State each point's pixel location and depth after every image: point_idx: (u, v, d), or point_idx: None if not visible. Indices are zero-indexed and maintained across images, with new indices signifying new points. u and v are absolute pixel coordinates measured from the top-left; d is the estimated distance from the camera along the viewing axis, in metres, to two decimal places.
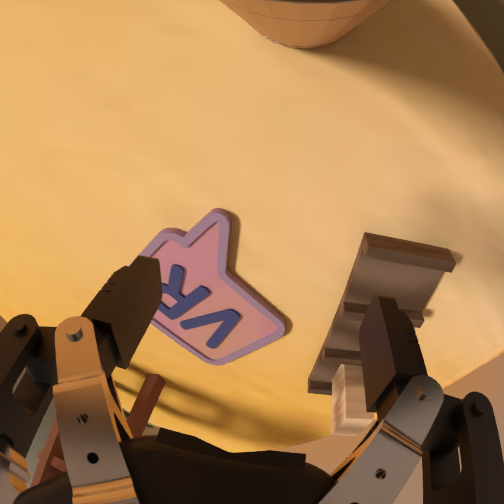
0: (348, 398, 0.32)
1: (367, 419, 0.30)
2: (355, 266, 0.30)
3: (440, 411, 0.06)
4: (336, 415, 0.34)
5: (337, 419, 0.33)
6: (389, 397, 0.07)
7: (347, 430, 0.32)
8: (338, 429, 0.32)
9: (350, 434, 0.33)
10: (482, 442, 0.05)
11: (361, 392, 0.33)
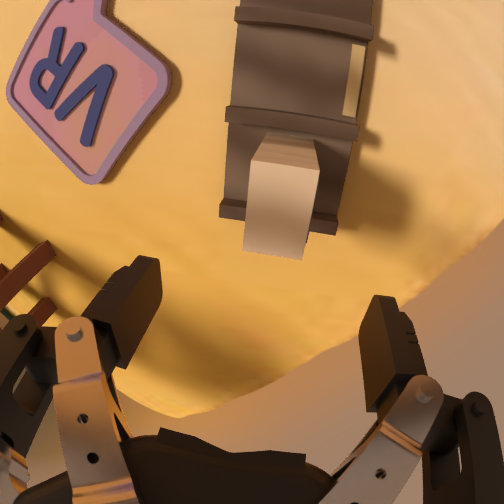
0: (263, 149, 0.18)
1: (305, 171, 0.15)
2: None
3: (440, 411, 0.06)
4: None
5: None
6: (389, 397, 0.07)
7: (272, 228, 0.17)
8: (249, 220, 0.17)
9: (283, 248, 0.18)
10: (482, 442, 0.05)
11: (294, 149, 0.19)
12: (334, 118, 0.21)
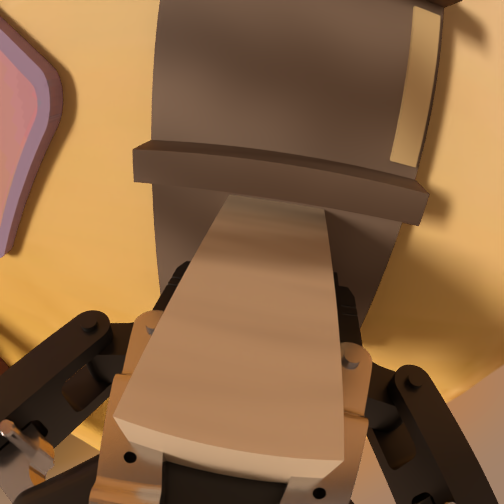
0: (184, 306, 0.06)
1: (293, 460, 0.04)
2: None
3: (371, 382, 0.07)
4: None
5: None
6: None
7: None
8: None
9: None
10: (429, 416, 0.06)
11: (276, 289, 0.07)
12: (373, 167, 0.10)
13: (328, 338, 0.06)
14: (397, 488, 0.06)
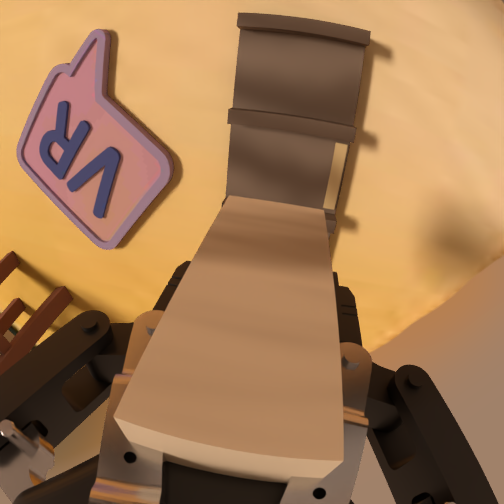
0: (184, 307, 0.06)
1: (293, 460, 0.04)
2: (238, 55, 0.21)
3: (371, 381, 0.07)
4: None
5: None
6: None
7: None
8: None
9: None
10: (429, 416, 0.06)
11: (275, 290, 0.07)
12: None
13: (328, 339, 0.06)
14: (397, 488, 0.06)
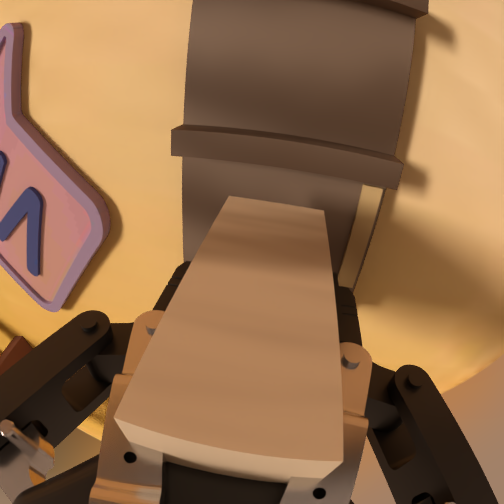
0: (184, 307, 0.06)
1: (293, 461, 0.04)
2: None
3: (371, 382, 0.07)
4: None
5: None
6: None
7: None
8: None
9: None
10: (429, 416, 0.06)
11: (275, 291, 0.07)
12: None
13: (328, 340, 0.06)
14: (397, 488, 0.06)
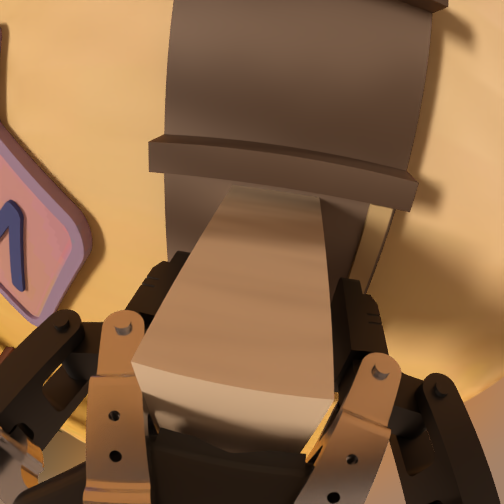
0: (194, 273, 0.07)
1: (289, 399, 0.05)
2: None
3: (399, 391, 0.07)
4: None
5: None
6: (348, 375, 0.08)
7: None
8: None
9: None
10: (451, 424, 0.05)
11: (273, 261, 0.08)
12: None
13: (320, 300, 0.07)
14: (411, 495, 0.05)
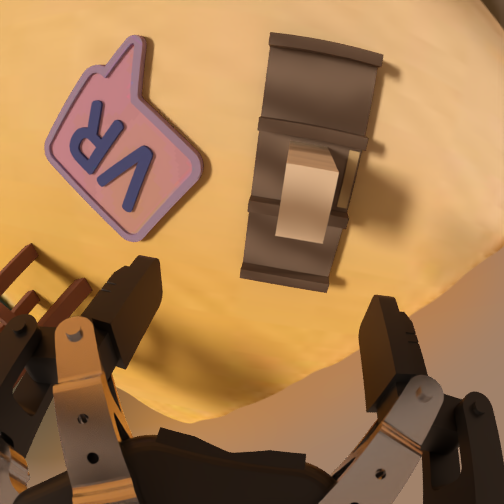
0: (292, 154, 0.22)
1: (327, 173, 0.20)
2: (267, 70, 0.24)
3: (440, 411, 0.06)
4: None
5: None
6: (389, 397, 0.07)
7: (300, 217, 0.22)
8: (282, 211, 0.22)
9: (308, 234, 0.22)
10: (482, 442, 0.05)
11: (315, 155, 0.23)
12: None
13: (331, 162, 0.22)
14: None
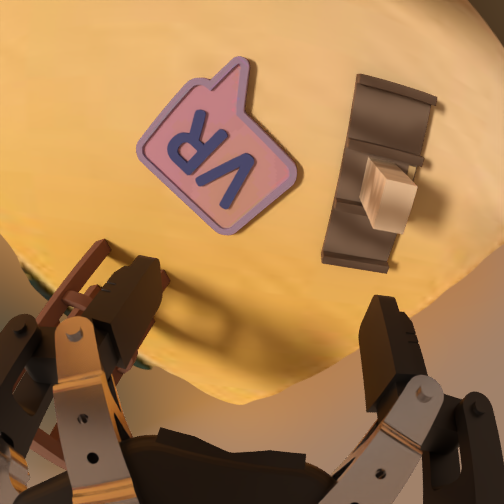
0: (382, 171, 0.30)
1: (410, 186, 0.27)
2: (353, 101, 0.32)
3: (440, 411, 0.06)
4: (373, 203, 0.31)
5: (376, 202, 0.30)
6: (389, 397, 0.07)
7: (391, 215, 0.29)
8: (380, 211, 0.29)
9: (394, 227, 0.30)
10: (482, 442, 0.05)
11: (395, 172, 0.30)
12: None
13: (408, 177, 0.29)
14: None
